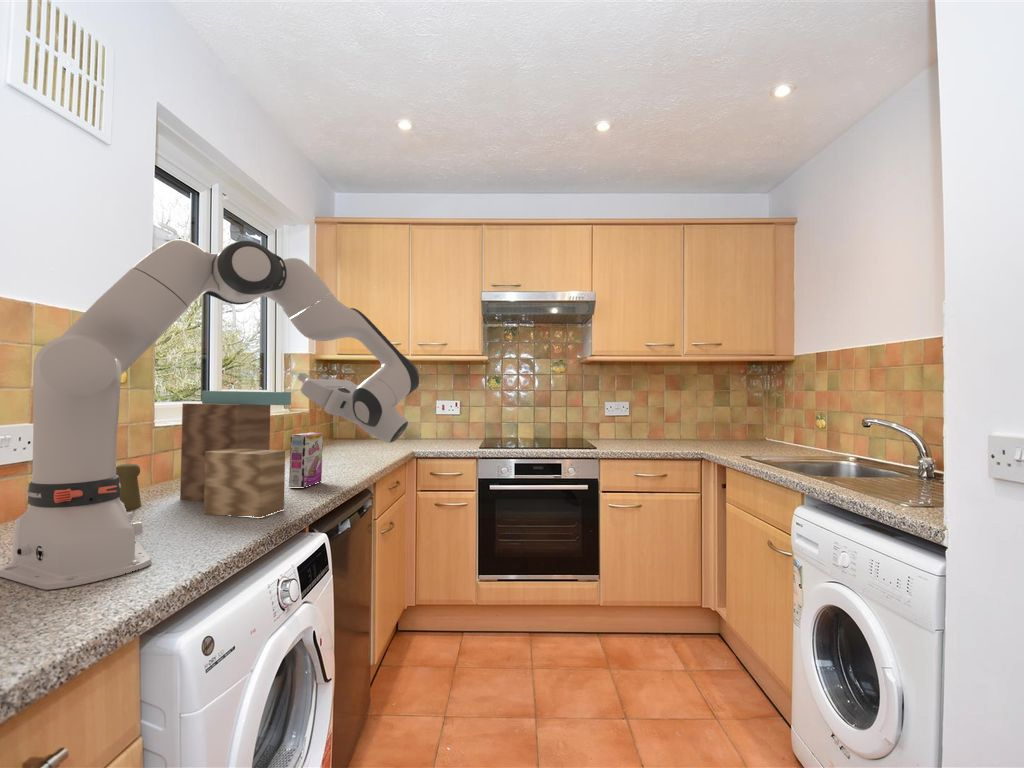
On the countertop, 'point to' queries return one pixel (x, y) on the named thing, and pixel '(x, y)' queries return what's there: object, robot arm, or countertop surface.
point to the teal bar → (246, 397)
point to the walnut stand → (217, 437)
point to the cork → (129, 485)
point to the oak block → (244, 482)
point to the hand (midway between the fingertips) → (311, 375)
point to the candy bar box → (305, 459)
